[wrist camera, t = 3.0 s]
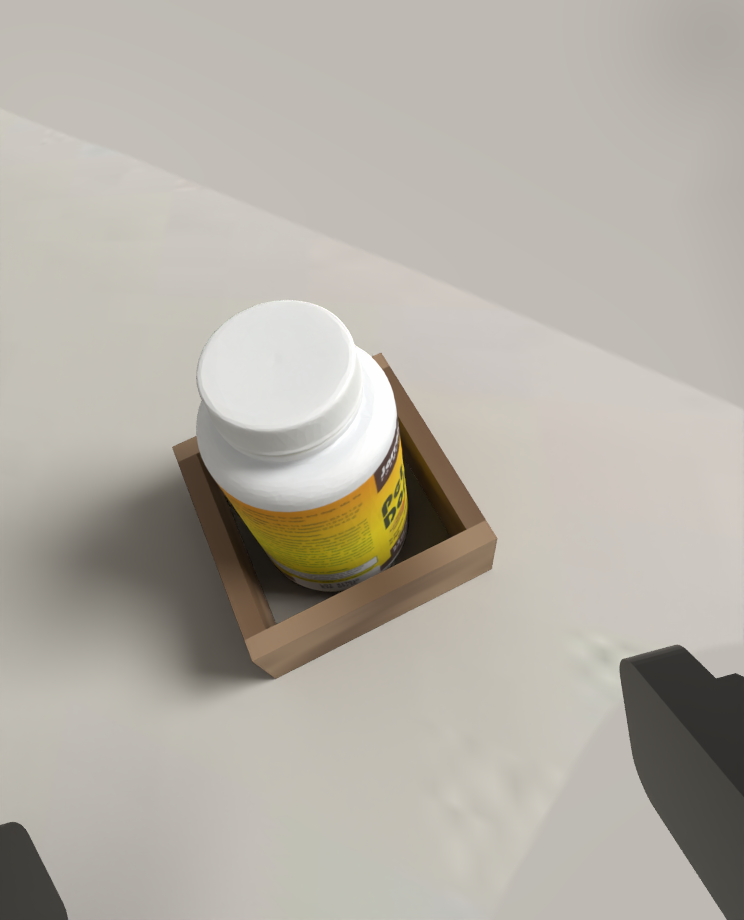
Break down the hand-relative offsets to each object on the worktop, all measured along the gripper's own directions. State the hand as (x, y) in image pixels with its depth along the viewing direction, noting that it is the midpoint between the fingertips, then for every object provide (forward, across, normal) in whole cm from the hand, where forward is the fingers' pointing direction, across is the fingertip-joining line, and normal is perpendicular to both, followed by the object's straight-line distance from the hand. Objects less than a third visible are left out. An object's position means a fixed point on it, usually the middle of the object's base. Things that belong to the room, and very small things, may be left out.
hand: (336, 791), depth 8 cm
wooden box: (+16, 0, +2) cm, 16 cm away
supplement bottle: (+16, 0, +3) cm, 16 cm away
